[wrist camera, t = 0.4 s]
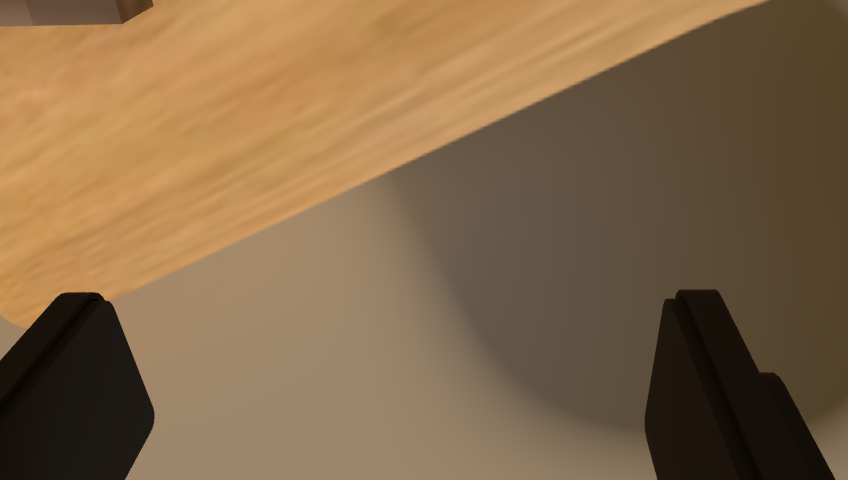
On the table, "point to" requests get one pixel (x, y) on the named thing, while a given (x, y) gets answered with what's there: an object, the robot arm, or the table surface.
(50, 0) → the bore block
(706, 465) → the robot arm
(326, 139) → the table surface
